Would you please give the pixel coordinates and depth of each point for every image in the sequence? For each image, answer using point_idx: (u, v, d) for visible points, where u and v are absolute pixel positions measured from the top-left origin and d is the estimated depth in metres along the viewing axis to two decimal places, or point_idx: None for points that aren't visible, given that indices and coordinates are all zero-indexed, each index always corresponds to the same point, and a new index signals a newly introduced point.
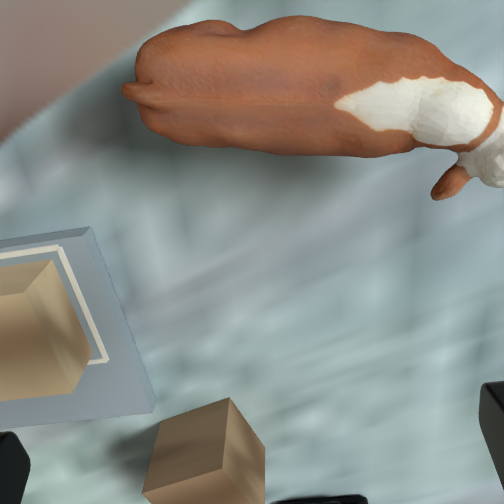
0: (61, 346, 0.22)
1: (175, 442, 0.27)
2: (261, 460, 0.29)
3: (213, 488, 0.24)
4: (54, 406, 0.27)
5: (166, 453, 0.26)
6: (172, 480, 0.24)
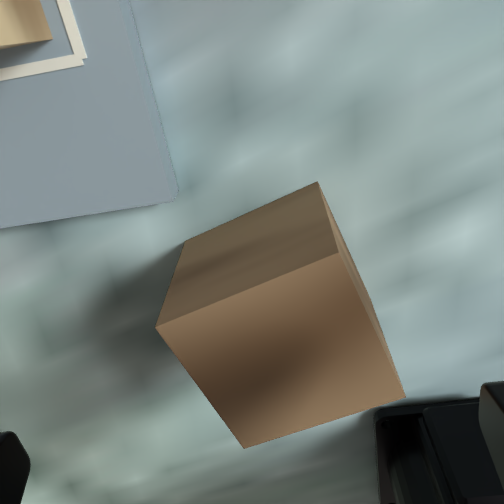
0: None
1: (219, 252, 0.14)
2: (372, 308, 0.15)
3: (312, 310, 0.11)
4: None
5: (202, 268, 0.13)
6: (222, 295, 0.11)
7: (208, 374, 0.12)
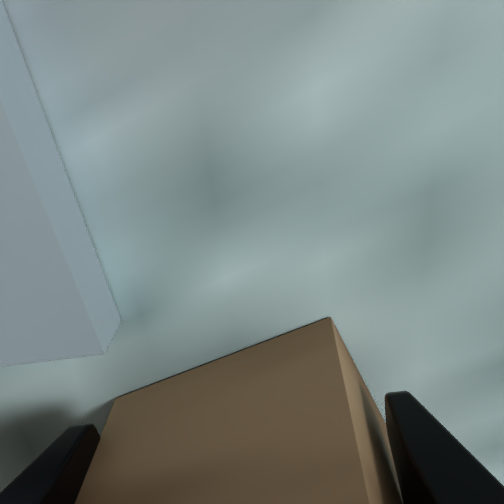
0: None
1: (154, 470, 0.07)
2: None
3: None
4: None
5: None
6: None
7: None
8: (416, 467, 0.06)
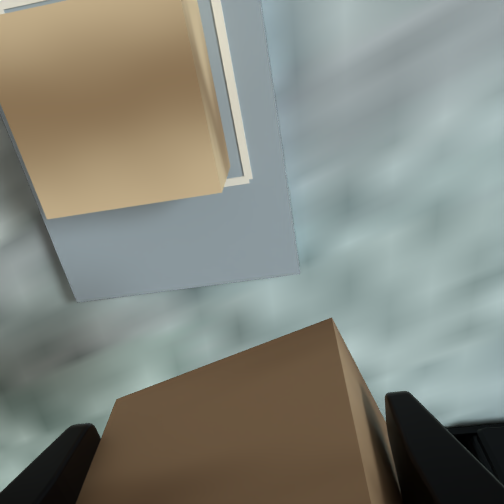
0: (209, 114, 0.14)
1: (156, 471, 0.07)
2: None
3: None
4: (160, 262, 0.19)
5: None
6: None
7: None
8: (416, 467, 0.06)
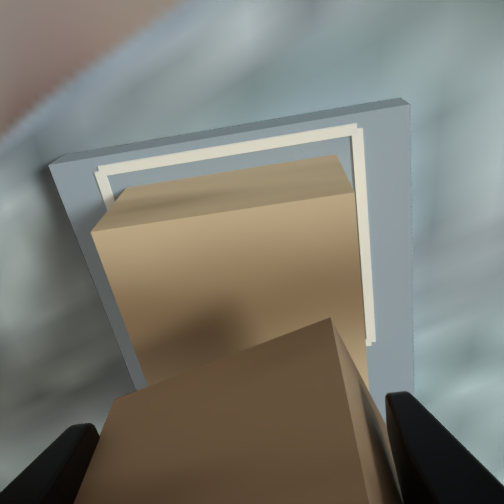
0: None
1: (153, 471, 0.07)
2: None
3: None
4: None
5: None
6: None
7: None
8: (416, 467, 0.06)
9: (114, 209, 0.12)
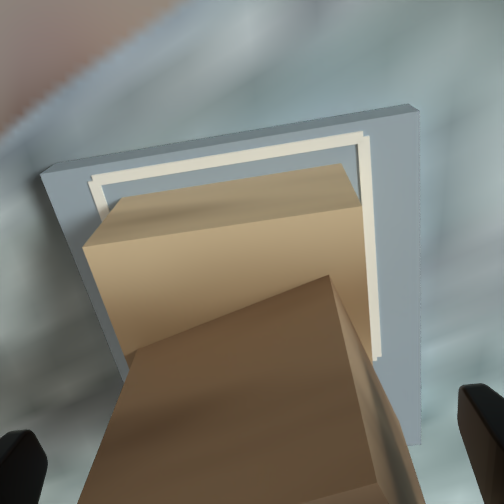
0: None
1: (177, 397, 0.09)
2: (408, 457, 0.11)
3: None
4: None
5: (147, 430, 0.08)
6: None
7: None
8: None
9: (108, 221, 0.11)
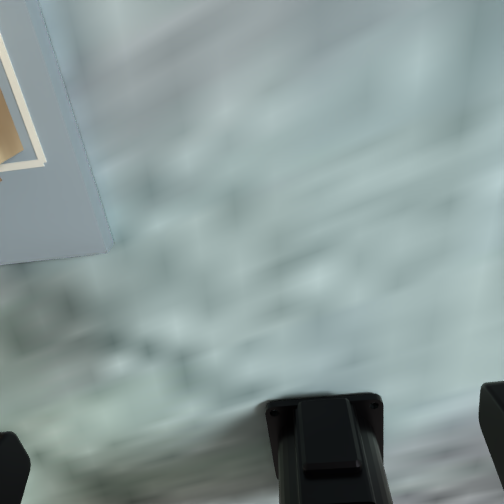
0: None
1: None
2: None
3: None
4: None
5: None
6: None
7: None
8: None
9: None
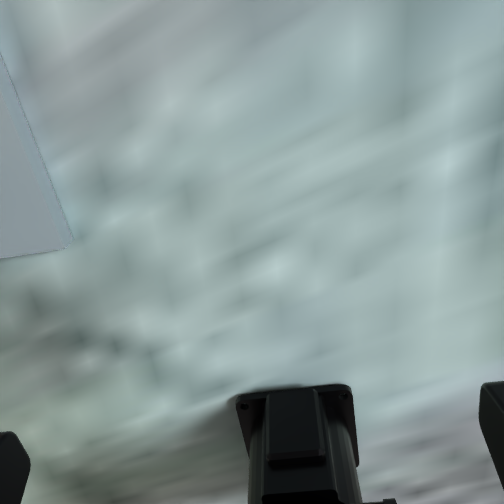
0: None
1: None
2: None
3: None
4: None
5: None
6: None
7: None
8: None
9: None
